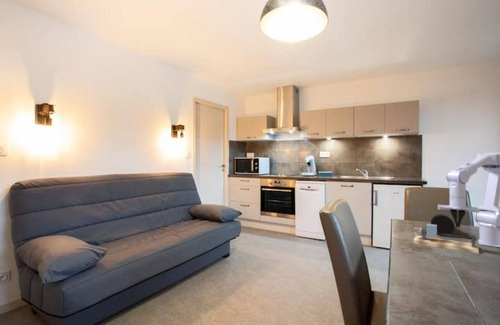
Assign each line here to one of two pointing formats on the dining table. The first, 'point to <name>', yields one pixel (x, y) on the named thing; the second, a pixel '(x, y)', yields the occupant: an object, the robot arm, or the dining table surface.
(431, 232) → the light blue block
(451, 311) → the dining table surface
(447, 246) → the cord board
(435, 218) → the black cylinder
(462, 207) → the robot arm
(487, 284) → the dining table surface
